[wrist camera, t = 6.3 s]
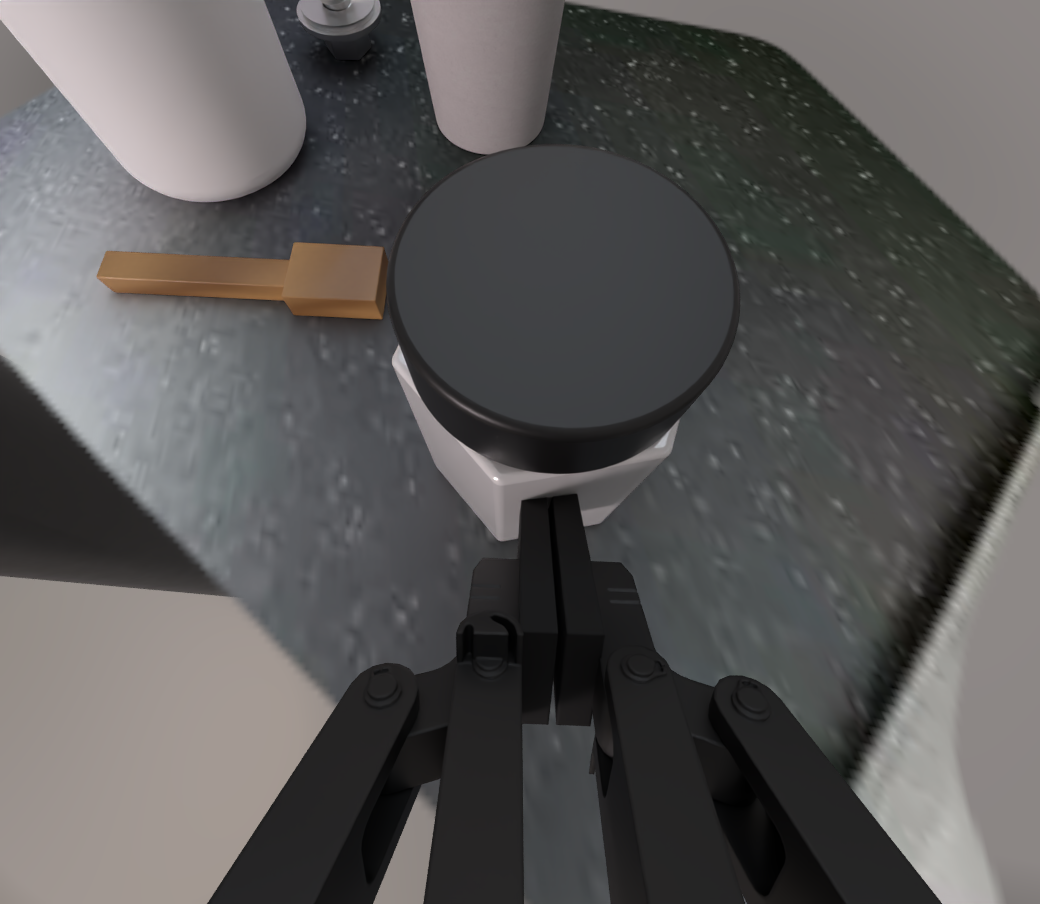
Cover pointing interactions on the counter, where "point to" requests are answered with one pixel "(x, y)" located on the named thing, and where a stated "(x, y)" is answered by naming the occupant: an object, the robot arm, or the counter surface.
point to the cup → (173, 87)
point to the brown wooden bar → (263, 278)
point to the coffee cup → (489, 68)
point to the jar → (556, 325)
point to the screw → (341, 24)
